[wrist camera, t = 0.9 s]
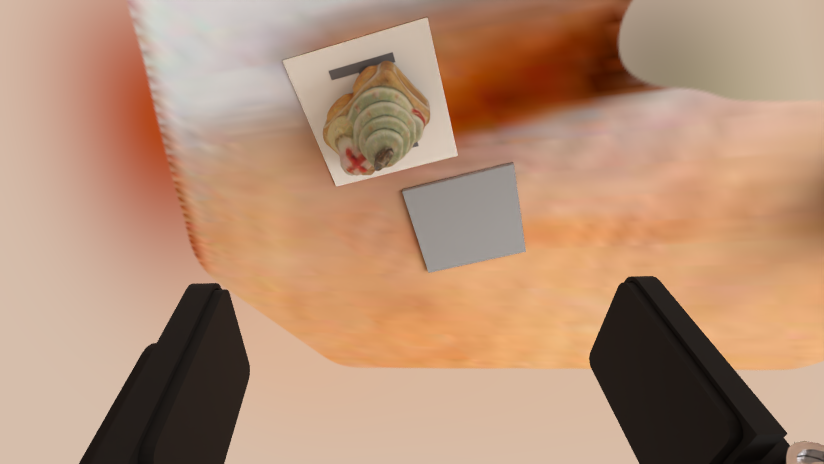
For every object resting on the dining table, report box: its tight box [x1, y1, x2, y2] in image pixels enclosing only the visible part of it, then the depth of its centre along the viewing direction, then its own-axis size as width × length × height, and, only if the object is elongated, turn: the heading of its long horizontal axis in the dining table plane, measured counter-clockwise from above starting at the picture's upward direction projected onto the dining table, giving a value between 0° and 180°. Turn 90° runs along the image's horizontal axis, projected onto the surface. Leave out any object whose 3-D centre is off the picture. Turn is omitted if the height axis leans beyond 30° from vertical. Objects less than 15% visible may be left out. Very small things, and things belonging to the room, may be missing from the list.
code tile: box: [283, 17, 458, 187], centre depth 33 cm, size 11×11×1 cm
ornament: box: [323, 61, 430, 176], centre depth 29 cm, size 8×6×10 cm
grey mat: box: [402, 162, 526, 273], centre depth 40 cm, size 10×10×1 cm
